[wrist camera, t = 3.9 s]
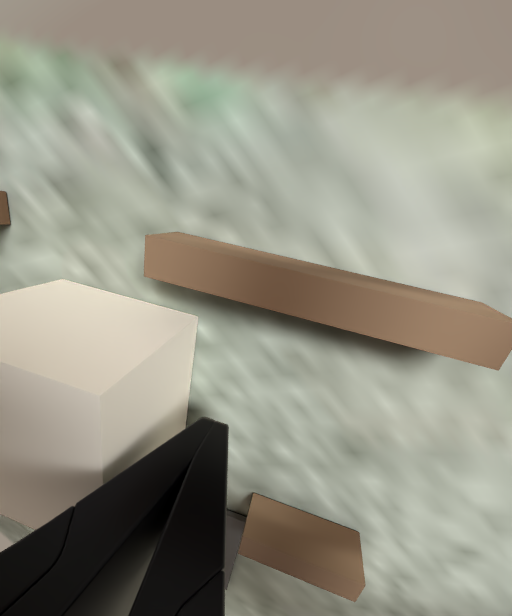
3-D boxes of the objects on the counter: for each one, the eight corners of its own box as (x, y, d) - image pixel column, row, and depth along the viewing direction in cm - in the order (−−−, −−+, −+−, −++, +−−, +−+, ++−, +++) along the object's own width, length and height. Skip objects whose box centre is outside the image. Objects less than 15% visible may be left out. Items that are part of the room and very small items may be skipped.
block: (198, 316, 8) (99, 395, 5) (184, 435, 10) (105, 561, 6) (62, 278, 9) (-115, 321, 5) (72, 396, 11) (-57, 488, 7)
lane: (482, 302, 6) (571, 351, 4) (350, 548, 10) (359, 648, 8) (-90, 169, 9) (-230, 153, 7) (-32, 401, 13) (-110, 441, 10)
